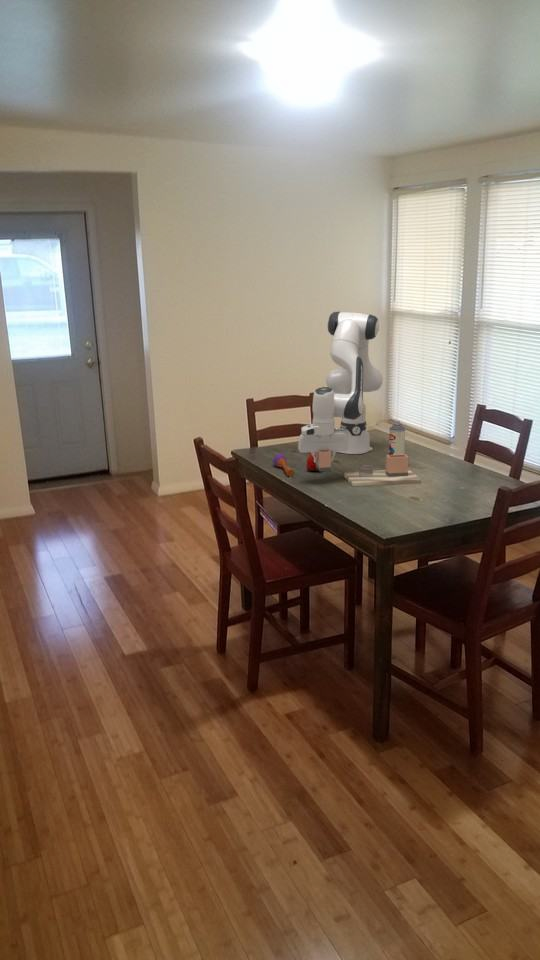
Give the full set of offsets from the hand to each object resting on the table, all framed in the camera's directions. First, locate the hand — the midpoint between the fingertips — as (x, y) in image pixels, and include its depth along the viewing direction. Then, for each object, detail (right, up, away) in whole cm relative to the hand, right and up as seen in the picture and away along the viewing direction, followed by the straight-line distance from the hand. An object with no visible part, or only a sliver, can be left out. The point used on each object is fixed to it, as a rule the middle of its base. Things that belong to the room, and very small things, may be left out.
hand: (323, 462), depth 299 cm
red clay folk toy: (-2, -3, +18) cm, 19 cm away
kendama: (-16, -4, +19) cm, 25 cm away
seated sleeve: (+30, -5, +4) cm, 31 cm away
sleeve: (0, -3, +1) cm, 3 cm away
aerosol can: (+33, -1, +24) cm, 41 cm away
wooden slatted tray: (+24, -7, +4) cm, 25 cm away
